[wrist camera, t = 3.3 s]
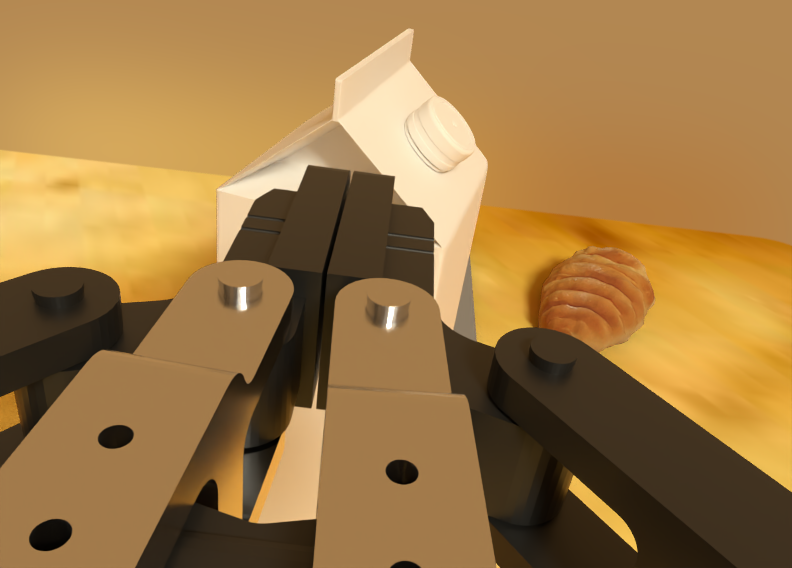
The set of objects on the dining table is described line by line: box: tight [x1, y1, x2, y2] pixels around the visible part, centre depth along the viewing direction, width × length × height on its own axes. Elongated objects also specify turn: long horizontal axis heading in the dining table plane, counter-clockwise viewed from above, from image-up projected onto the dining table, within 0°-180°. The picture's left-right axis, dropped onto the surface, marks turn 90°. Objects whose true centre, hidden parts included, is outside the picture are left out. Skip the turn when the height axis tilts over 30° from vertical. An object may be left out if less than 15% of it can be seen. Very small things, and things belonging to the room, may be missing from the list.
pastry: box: [538, 246, 655, 353], centre depth 45 cm, size 9×7×4 cm
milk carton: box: [216, 29, 488, 523], centre depth 26 cm, size 7×7×19 cm
